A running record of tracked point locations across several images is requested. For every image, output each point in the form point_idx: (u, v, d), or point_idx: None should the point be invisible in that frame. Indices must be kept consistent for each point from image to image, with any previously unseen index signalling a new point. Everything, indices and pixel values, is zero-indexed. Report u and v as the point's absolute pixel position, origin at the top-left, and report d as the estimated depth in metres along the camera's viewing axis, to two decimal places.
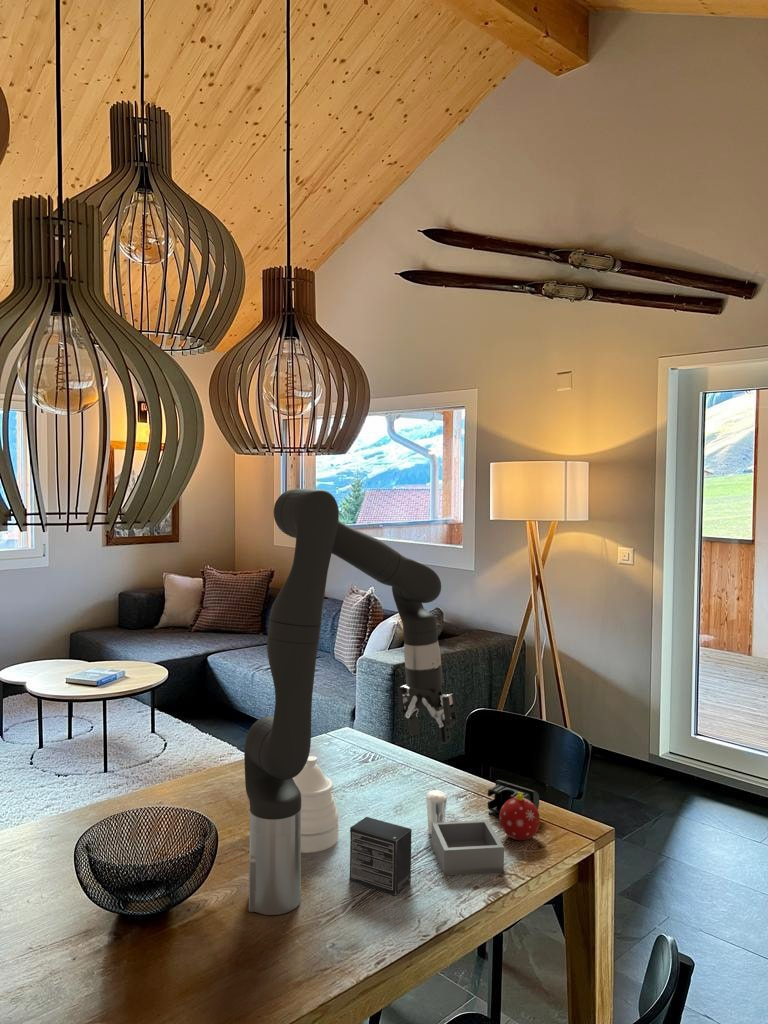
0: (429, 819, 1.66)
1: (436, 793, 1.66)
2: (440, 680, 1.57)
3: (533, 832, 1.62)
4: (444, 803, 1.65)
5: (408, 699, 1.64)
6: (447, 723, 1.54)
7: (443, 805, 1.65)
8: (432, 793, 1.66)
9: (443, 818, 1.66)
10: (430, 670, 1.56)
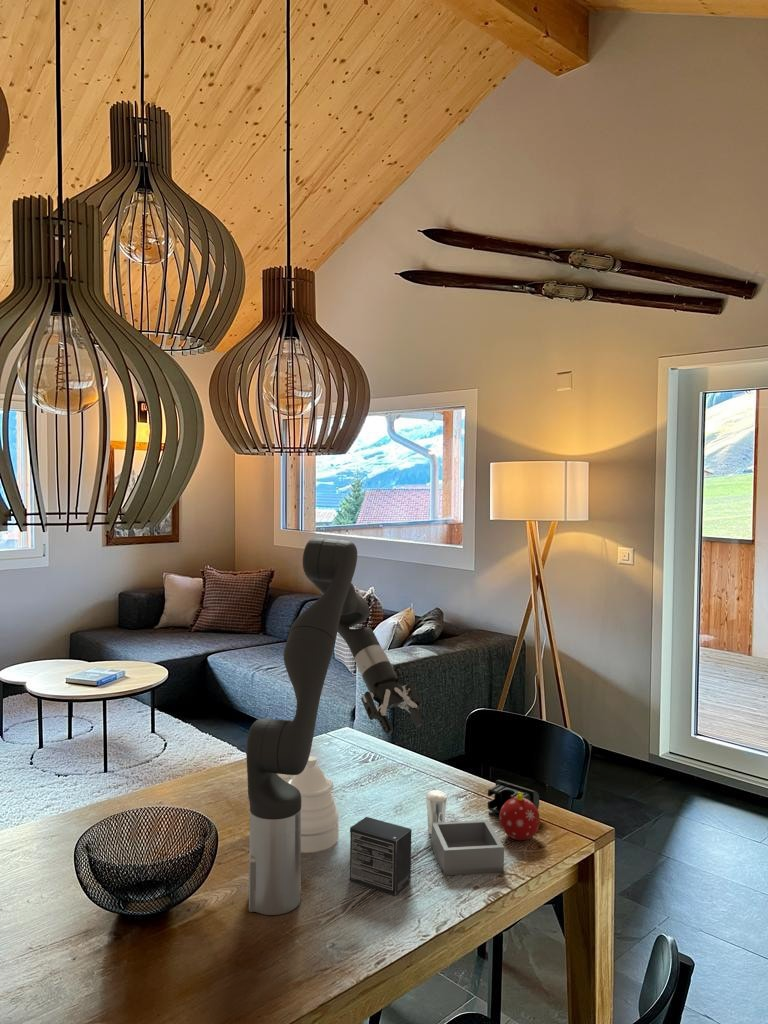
0: (429, 819, 1.66)
1: (436, 793, 1.66)
2: None
3: (533, 832, 1.62)
4: (444, 803, 1.65)
5: None
6: (420, 702, 1.81)
7: (443, 805, 1.65)
8: (432, 793, 1.66)
9: (443, 818, 1.66)
10: None
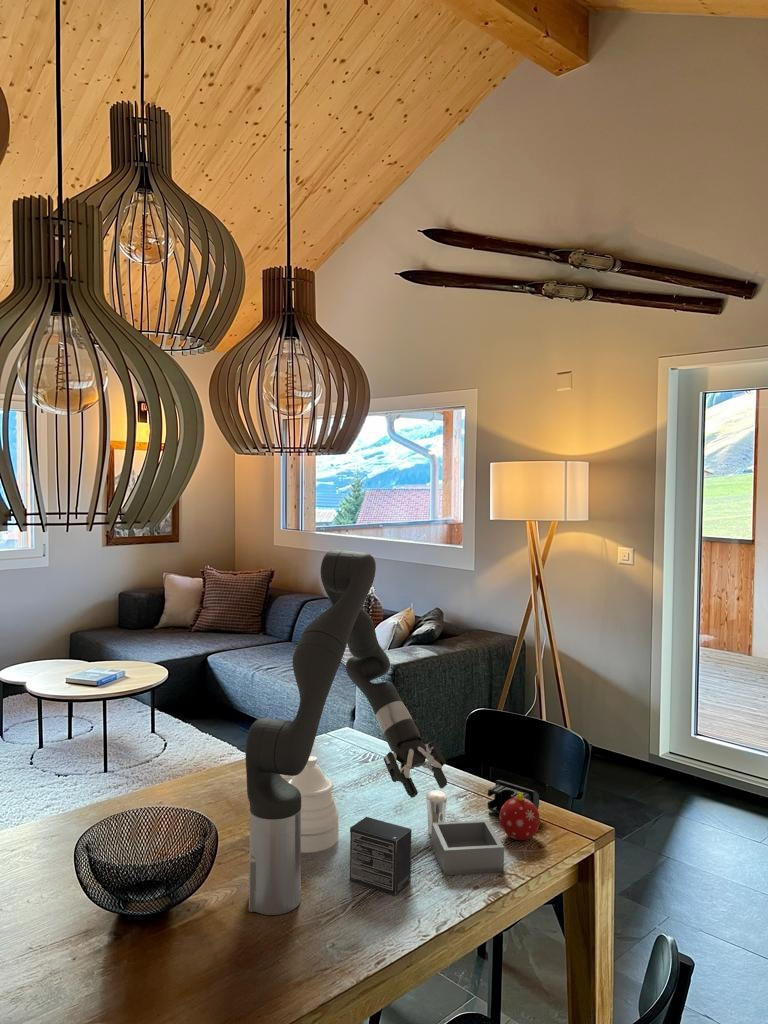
0: (429, 819, 1.66)
1: (436, 793, 1.66)
2: None
3: (533, 832, 1.62)
4: (444, 803, 1.65)
5: None
6: (444, 761, 1.75)
7: (443, 805, 1.65)
8: (432, 793, 1.66)
9: (443, 818, 1.66)
10: None
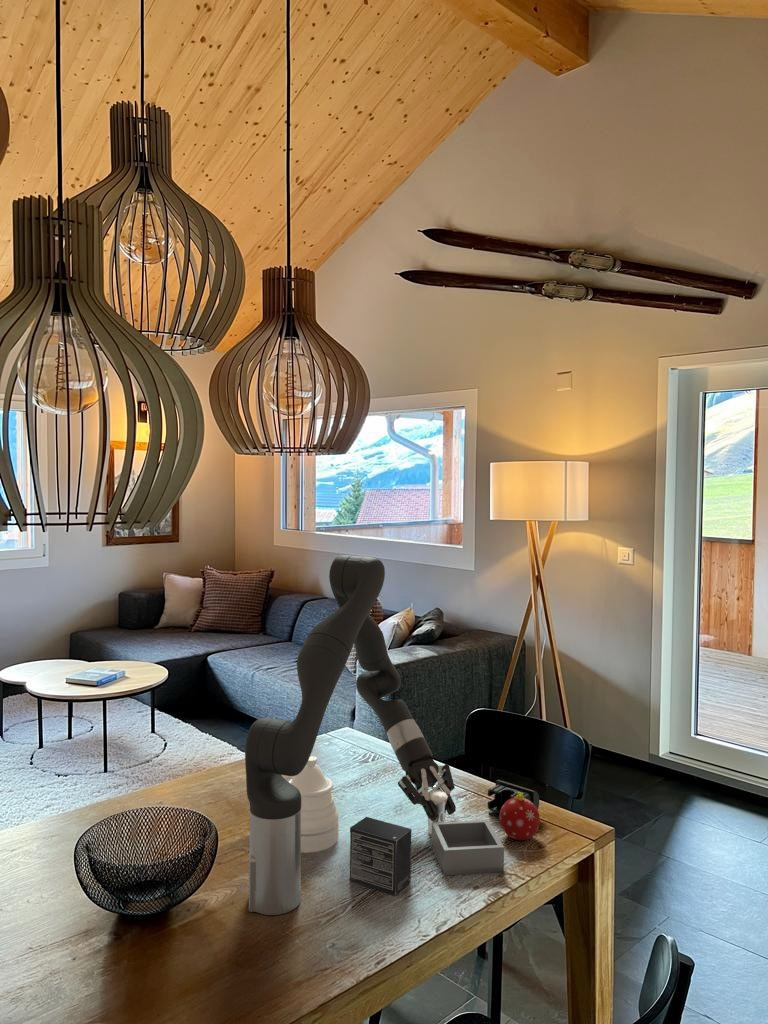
0: (429, 819, 1.66)
1: (437, 793, 1.66)
2: None
3: (533, 832, 1.62)
4: (445, 803, 1.65)
5: None
6: (452, 786, 1.70)
7: (444, 805, 1.65)
8: (433, 793, 1.66)
9: (443, 818, 1.66)
10: None
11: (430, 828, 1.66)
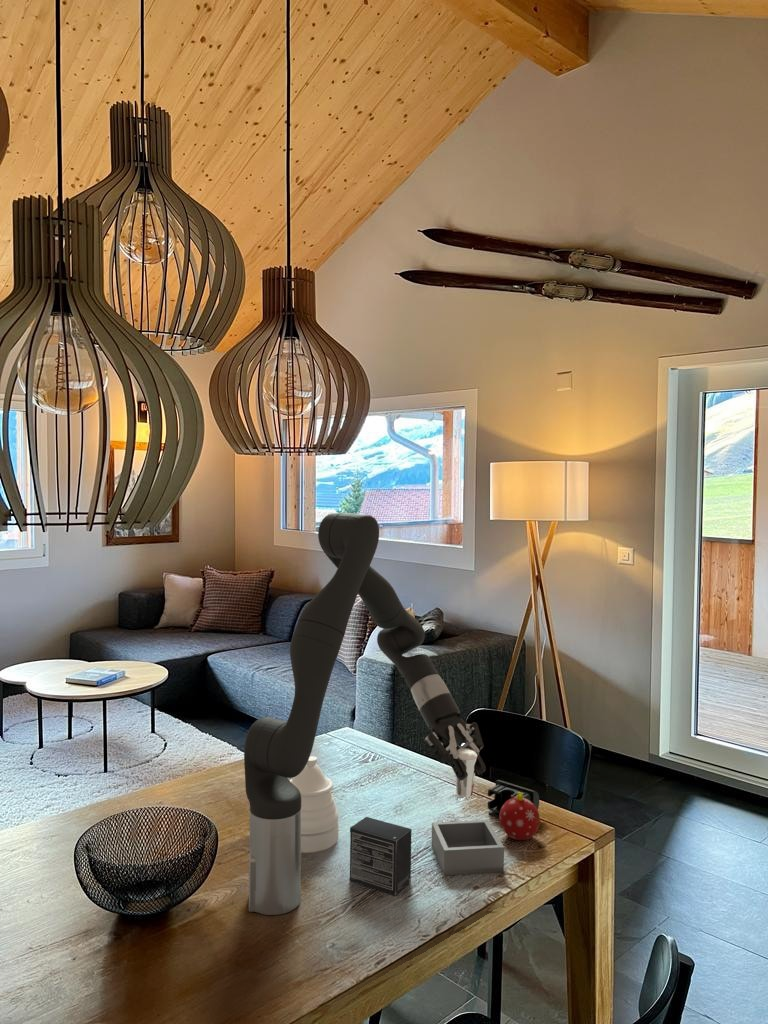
0: (458, 779, 1.55)
1: (466, 751, 1.55)
2: None
3: (533, 832, 1.62)
4: (474, 761, 1.54)
5: None
6: (481, 745, 1.59)
7: (473, 763, 1.54)
8: (461, 751, 1.54)
9: (473, 778, 1.55)
10: None
11: (458, 789, 1.55)
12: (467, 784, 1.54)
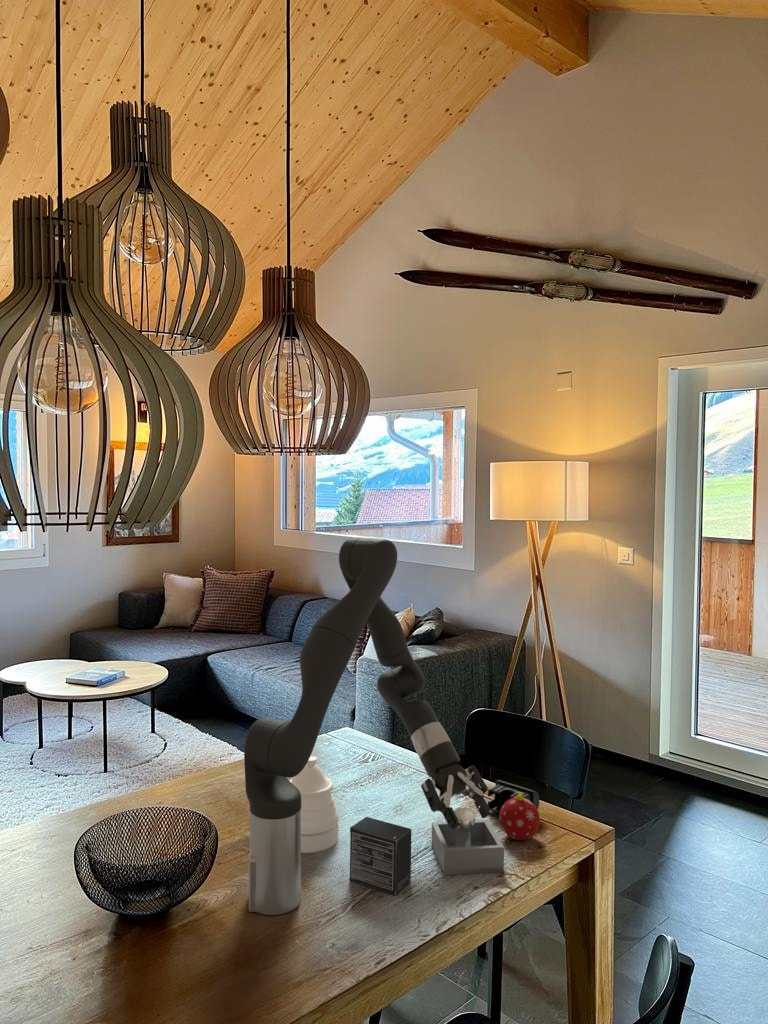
0: (456, 838, 1.55)
1: (464, 811, 1.55)
2: None
3: (533, 832, 1.62)
4: (472, 821, 1.54)
5: None
6: (485, 788, 1.60)
7: (471, 824, 1.54)
8: (459, 811, 1.55)
9: (471, 837, 1.55)
10: None
11: None
12: (466, 844, 1.54)
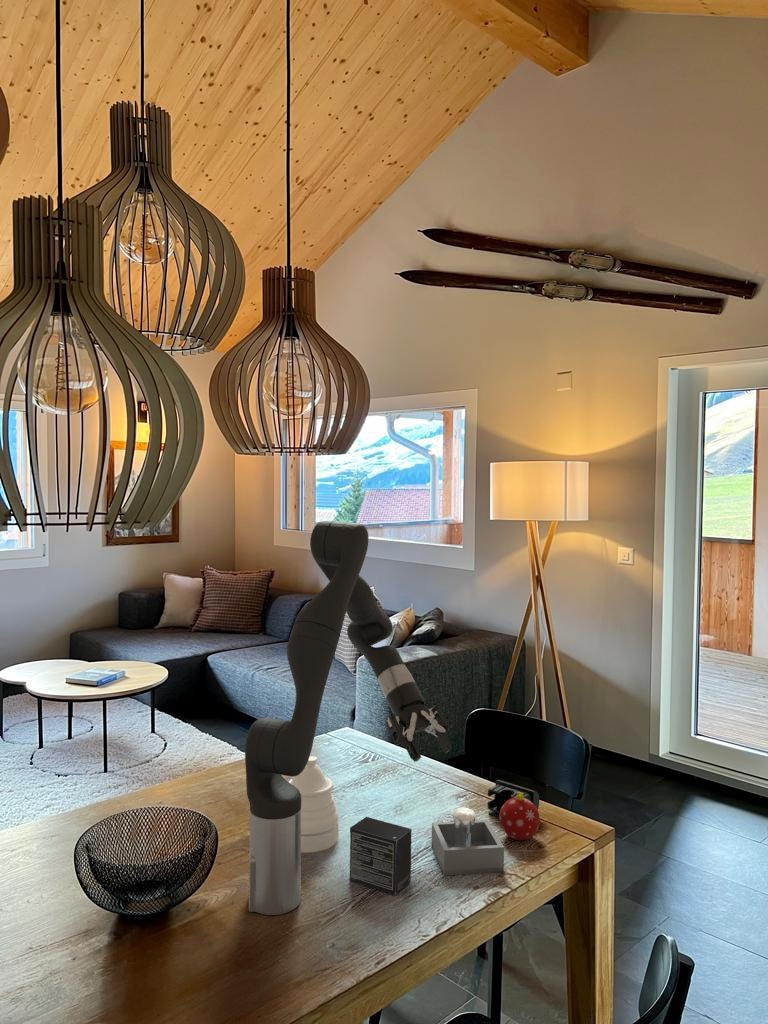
0: (456, 839, 1.55)
1: (464, 811, 1.55)
2: None
3: (533, 832, 1.62)
4: (473, 822, 1.54)
5: None
6: (448, 726, 1.69)
7: (471, 824, 1.54)
8: (459, 811, 1.55)
9: (471, 837, 1.55)
10: None
11: None
12: (466, 844, 1.54)
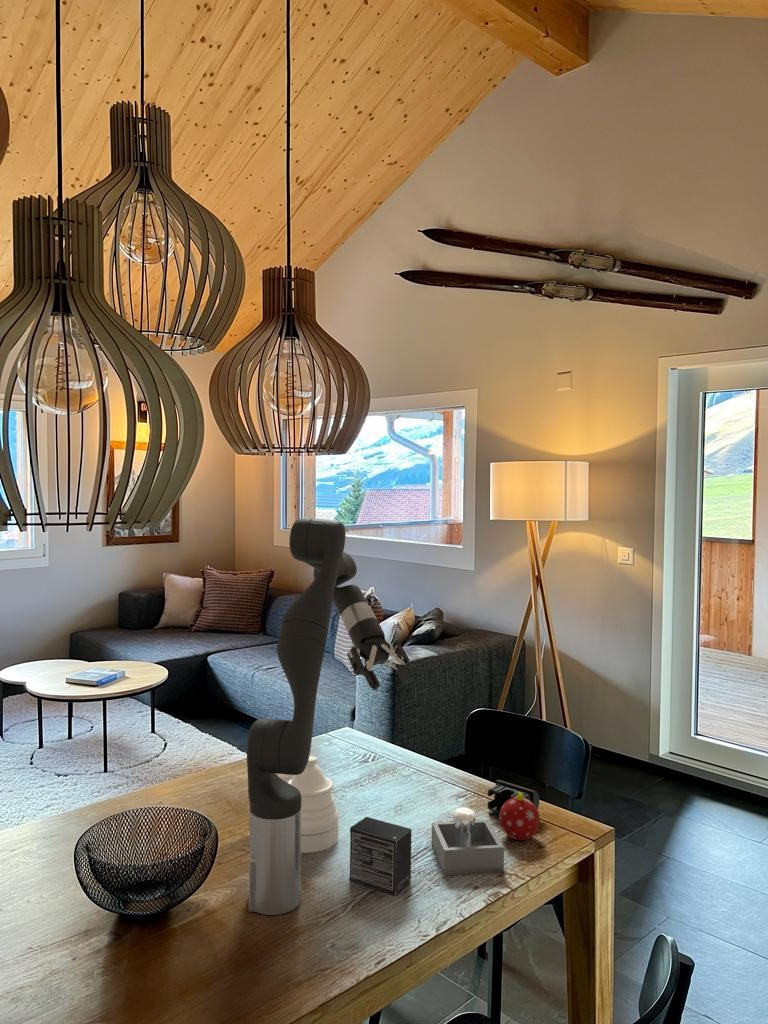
0: (456, 839, 1.55)
1: (464, 811, 1.55)
2: None
3: (533, 832, 1.62)
4: (473, 822, 1.54)
5: None
6: (407, 659, 1.78)
7: (472, 824, 1.54)
8: (459, 811, 1.55)
9: (471, 837, 1.55)
10: None
11: None
12: (466, 844, 1.54)
